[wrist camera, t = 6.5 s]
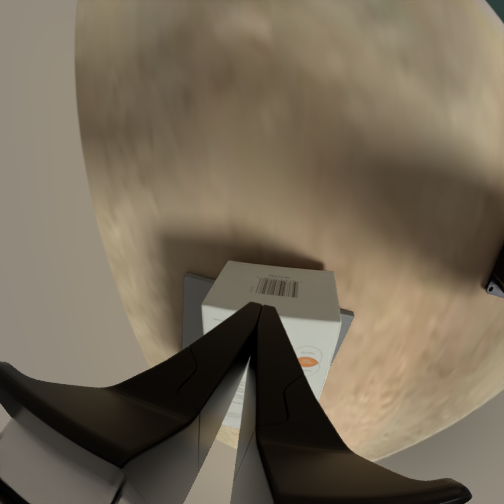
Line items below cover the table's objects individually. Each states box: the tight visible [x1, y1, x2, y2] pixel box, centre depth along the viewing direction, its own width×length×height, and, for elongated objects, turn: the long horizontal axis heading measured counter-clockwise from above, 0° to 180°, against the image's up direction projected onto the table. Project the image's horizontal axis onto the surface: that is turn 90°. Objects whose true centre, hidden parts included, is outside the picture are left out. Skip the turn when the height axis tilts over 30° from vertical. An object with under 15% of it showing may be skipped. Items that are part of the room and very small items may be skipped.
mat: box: [182, 273, 354, 366], centre depth 25 cm, size 14×12×1 cm
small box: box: [201, 261, 341, 429], centre depth 20 cm, size 8×6×13 cm
